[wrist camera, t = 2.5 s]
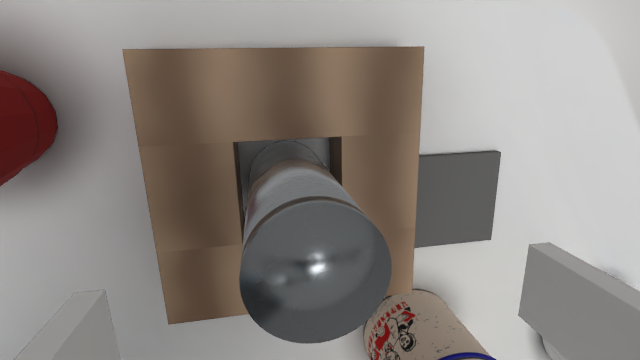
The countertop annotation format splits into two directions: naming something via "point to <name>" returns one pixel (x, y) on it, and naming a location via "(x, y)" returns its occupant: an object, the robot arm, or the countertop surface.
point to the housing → (268, 124)
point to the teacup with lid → (419, 331)
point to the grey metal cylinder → (308, 250)
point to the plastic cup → (23, 125)
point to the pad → (456, 197)
